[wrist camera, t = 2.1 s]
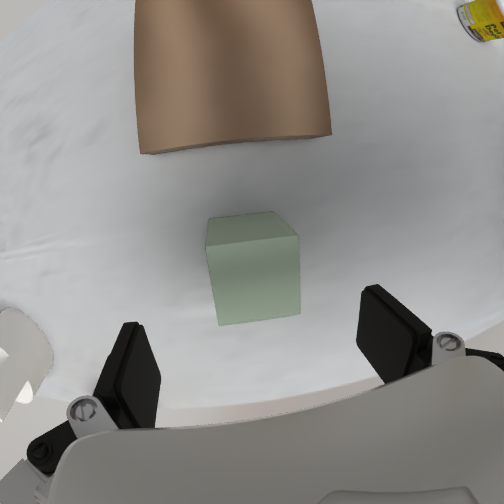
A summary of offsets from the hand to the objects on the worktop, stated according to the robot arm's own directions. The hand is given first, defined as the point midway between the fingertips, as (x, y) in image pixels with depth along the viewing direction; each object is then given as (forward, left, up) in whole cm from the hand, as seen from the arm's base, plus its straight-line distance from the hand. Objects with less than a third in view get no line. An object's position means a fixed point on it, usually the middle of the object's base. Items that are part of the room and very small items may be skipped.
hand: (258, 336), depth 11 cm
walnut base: (-1, -14, -12) cm, 18 cm away
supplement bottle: (-32, -26, -12) cm, 43 cm away
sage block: (-1, 0, -12) cm, 12 cm away
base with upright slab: (+26, +8, -12) cm, 30 cm away
